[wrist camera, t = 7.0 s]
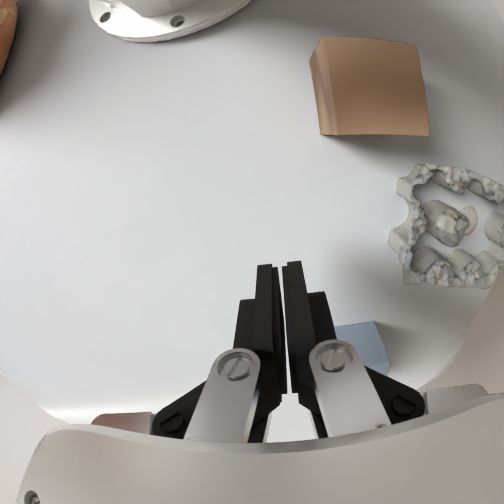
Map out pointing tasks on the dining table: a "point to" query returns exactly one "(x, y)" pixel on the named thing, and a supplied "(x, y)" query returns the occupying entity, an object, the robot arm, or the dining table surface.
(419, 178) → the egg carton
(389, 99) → the walnut block
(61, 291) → the dining table surface
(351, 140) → the dining table surface
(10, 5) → the ceramic jug
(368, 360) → the slate-blue block
